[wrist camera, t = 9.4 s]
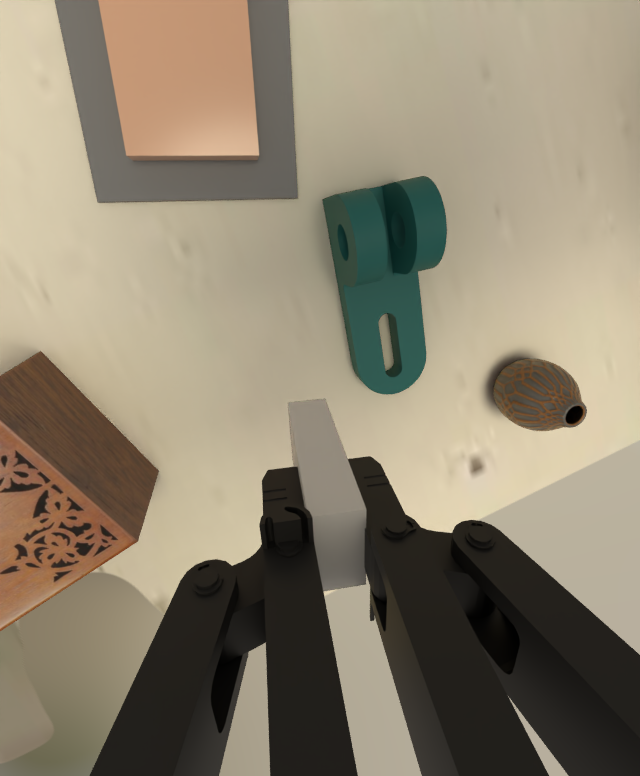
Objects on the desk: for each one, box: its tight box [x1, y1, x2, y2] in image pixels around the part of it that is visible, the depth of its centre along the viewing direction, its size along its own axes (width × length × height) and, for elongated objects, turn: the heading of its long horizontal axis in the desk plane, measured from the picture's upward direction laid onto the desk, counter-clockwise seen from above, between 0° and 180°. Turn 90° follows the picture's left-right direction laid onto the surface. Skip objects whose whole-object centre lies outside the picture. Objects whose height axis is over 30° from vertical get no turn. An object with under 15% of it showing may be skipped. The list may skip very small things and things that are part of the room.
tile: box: [98, 0, 259, 161], centre depth 27 cm, size 9×2×12 cm
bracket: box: [323, 176, 447, 394], centre depth 34 cm, size 18×7×8 cm, turn 11°
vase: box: [494, 359, 587, 431], centre depth 40 cm, size 7×7×9 cm
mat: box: [55, 0, 298, 202], centre depth 29 cm, size 15×15×1 cm
